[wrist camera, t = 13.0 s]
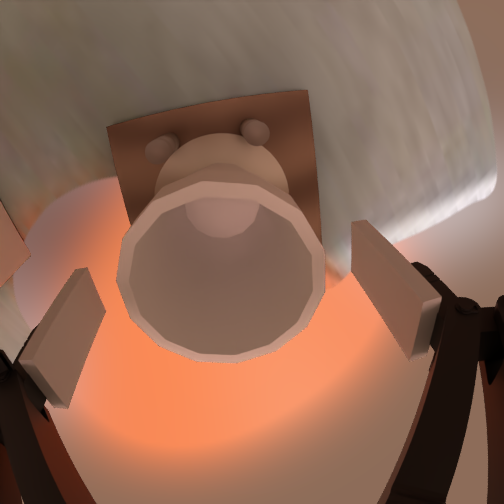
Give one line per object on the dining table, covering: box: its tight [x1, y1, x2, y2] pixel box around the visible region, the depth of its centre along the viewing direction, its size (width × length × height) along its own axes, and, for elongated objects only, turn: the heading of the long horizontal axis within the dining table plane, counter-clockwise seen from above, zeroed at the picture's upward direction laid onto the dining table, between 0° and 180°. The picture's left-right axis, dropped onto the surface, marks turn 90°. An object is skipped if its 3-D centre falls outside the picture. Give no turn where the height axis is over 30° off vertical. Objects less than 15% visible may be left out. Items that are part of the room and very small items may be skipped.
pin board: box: [106, 90, 322, 245], centre depth 24 cm, size 16×16×6 cm
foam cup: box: [116, 163, 325, 363], centre depth 20 cm, size 10×9×13 cm
